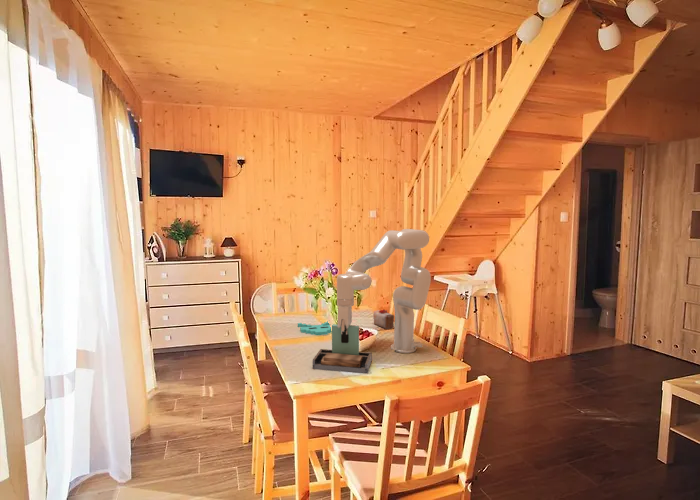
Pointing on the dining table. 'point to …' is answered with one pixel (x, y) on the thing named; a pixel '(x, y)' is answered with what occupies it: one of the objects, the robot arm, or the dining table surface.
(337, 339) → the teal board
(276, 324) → the dining table surface
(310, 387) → the dining table surface
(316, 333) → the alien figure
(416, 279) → the robot arm
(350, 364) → the middle offcut
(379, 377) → the dining table surface
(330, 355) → the top offcut
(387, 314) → the food item
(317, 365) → the dark grey tray
